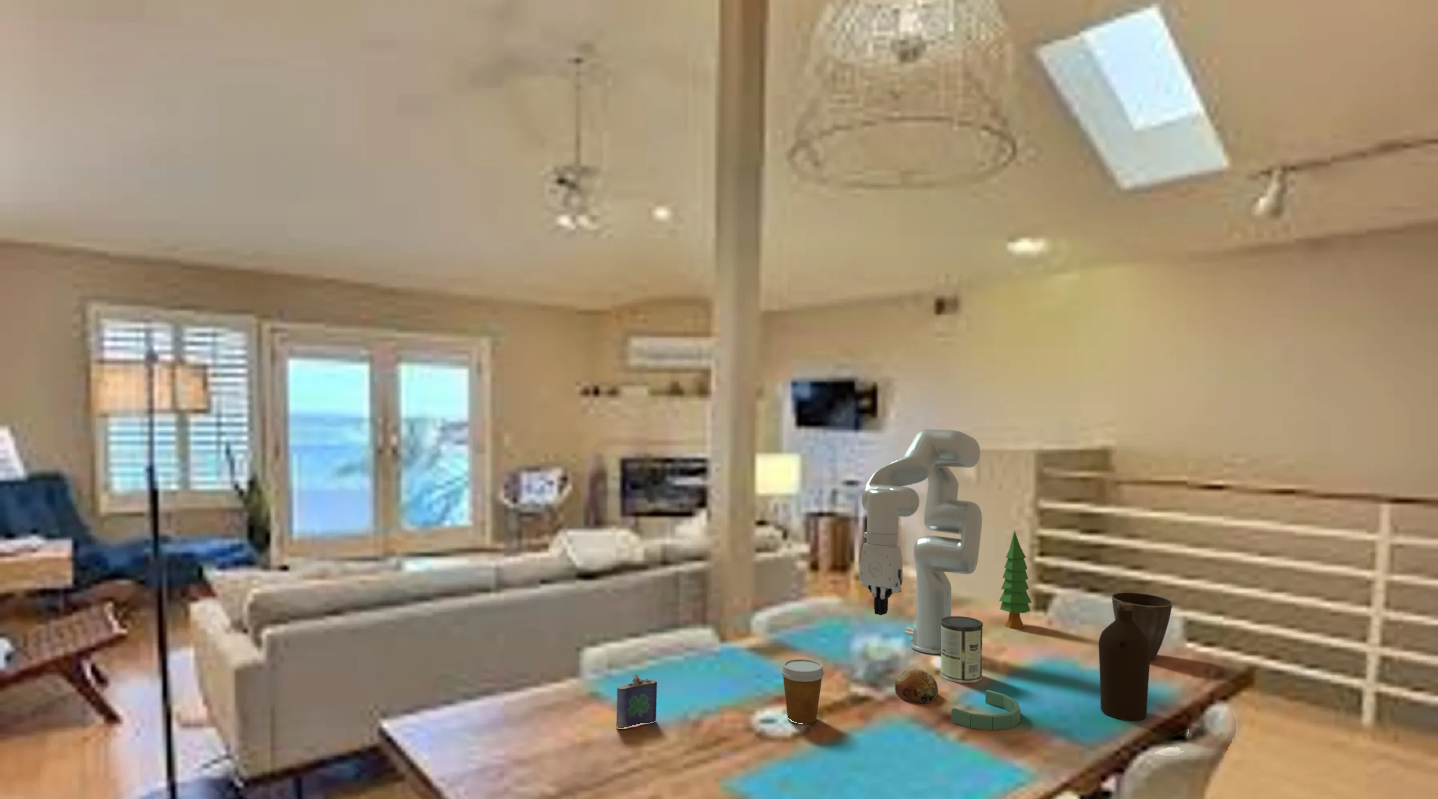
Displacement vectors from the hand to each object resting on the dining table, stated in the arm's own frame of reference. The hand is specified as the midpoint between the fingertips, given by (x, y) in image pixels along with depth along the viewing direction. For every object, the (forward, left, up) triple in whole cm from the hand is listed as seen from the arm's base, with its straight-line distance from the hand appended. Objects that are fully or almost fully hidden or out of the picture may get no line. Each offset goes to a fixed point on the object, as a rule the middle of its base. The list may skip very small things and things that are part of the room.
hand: (880, 613), depth 202 cm
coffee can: (+11, +20, -18) cm, 29 cm away
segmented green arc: (+29, 0, -18) cm, 34 cm away
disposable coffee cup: (0, -31, -18) cm, 36 cm away
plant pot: (+38, +71, -18) cm, 83 cm away
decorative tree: (0, +75, -18) cm, 77 cm away
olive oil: (+49, +25, -18) cm, 57 cm away
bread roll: (+10, 0, -18) cm, 21 cm away
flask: (-23, -59, -18) cm, 66 cm away
